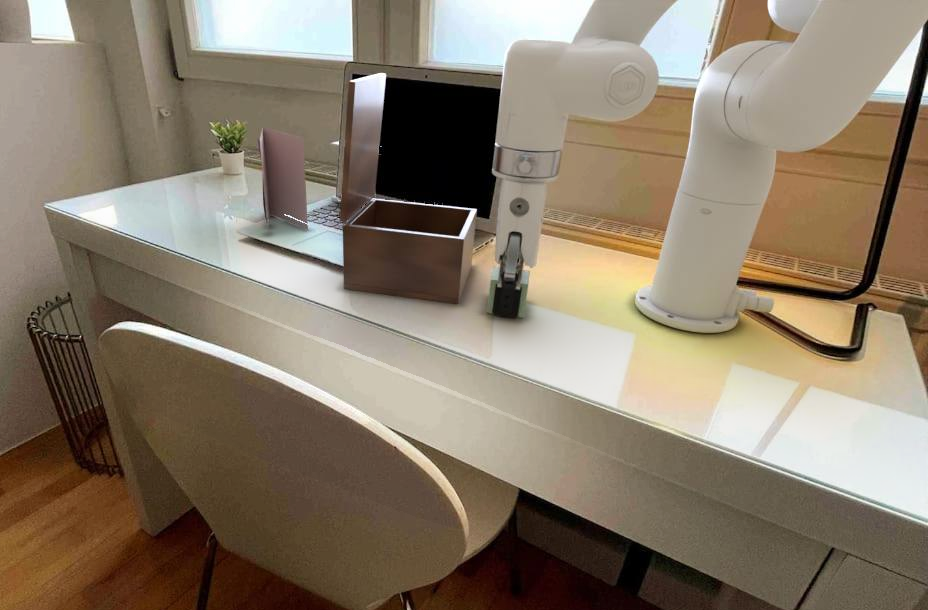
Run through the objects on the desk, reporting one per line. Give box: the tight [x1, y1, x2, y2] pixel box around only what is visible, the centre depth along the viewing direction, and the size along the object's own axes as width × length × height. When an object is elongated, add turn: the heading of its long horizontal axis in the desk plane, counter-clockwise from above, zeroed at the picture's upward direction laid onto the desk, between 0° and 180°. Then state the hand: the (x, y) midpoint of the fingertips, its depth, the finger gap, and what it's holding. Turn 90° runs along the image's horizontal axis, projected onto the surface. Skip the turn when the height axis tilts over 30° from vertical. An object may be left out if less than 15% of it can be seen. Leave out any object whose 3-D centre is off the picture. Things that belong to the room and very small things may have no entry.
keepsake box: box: [342, 197, 478, 305], centre depth 79 cm, size 16×14×9 cm
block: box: [486, 265, 531, 319], centre depth 72 cm, size 5×5×5 cm
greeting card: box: [257, 126, 309, 233], centre depth 95 cm, size 11×7×15 cm, turn 11°
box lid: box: [339, 72, 387, 223], centre depth 73 cm, size 16×14×1 cm
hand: (506, 305), depth 73 cm, fingers closed on block, 4 cm apart
